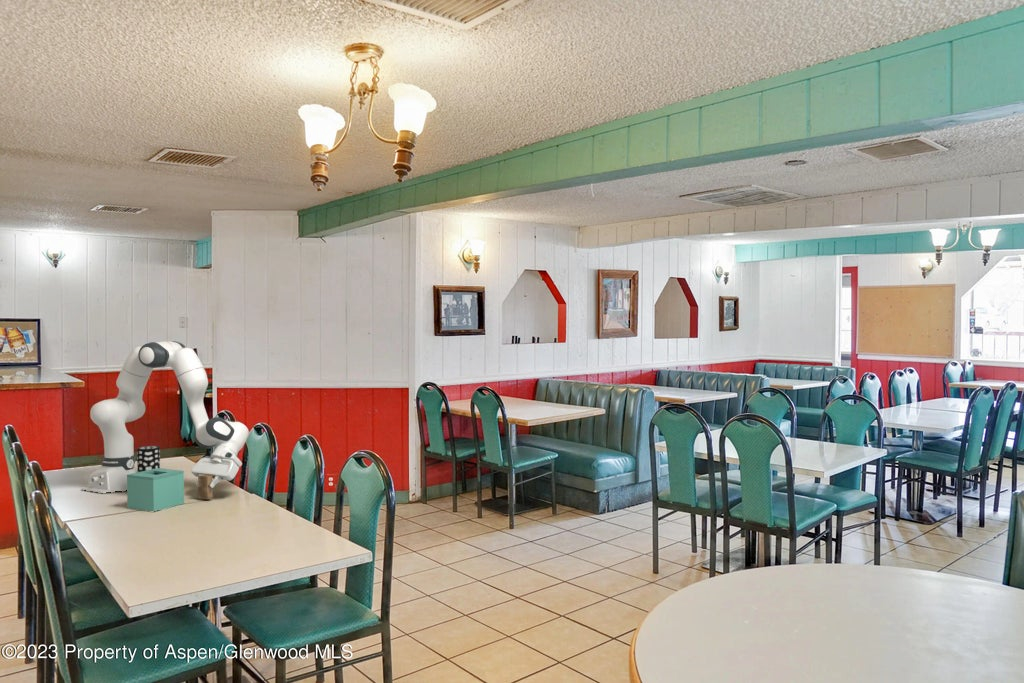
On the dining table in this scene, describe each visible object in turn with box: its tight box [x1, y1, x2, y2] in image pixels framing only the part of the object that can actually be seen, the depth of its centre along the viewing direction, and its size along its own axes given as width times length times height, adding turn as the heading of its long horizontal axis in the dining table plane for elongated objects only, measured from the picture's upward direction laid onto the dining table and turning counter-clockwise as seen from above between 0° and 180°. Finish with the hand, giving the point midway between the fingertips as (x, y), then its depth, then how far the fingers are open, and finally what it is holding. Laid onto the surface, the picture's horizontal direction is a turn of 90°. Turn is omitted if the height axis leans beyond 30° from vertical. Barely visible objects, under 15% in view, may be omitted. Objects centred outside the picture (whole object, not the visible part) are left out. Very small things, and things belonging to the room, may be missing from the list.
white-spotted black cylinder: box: [136, 445, 161, 473], centre depth 300 cm, size 8×8×20 cm
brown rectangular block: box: [197, 474, 214, 500], centre depth 293 cm, size 5×2×9 cm, turn 66°
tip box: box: [126, 467, 185, 512], centre depth 283 cm, size 14×14×13 cm
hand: (204, 486), depth 292 cm, fingers closed on brown rectangular block, 5 cm apart
